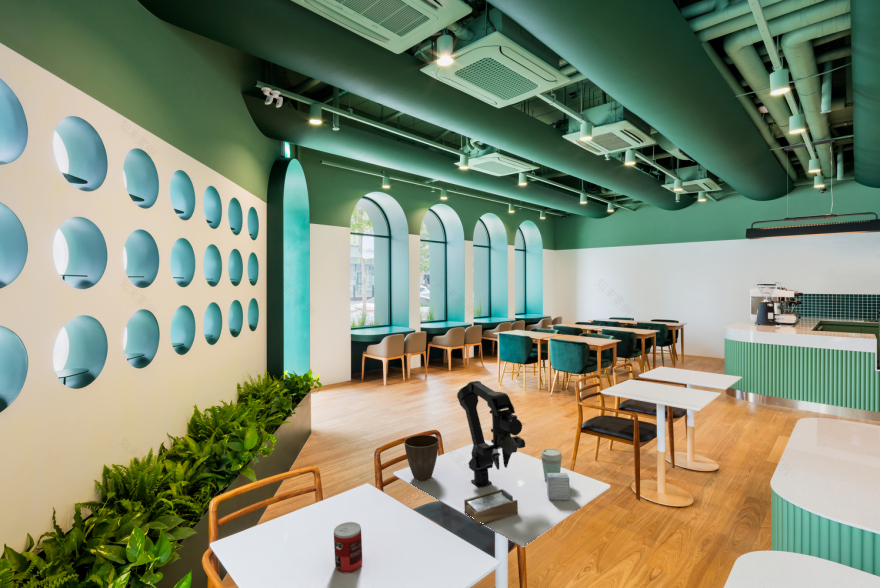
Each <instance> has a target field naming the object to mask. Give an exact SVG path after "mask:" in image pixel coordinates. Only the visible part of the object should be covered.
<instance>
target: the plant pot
mask: <svg viewBox="0 0 880 588" xmlns="http://www.w3.org/2000/svg"><path fill="white" fill-rule="evenodd" d="M403 443H404V449H405V454H406V459H407V463H408V465H409V468H410V472H411V474H412V476H413V478H414V480H416V481H417V480H418V482H426V481H429V480H431V478H432V477H433V474H434V471H435V470H434V469H435V467H436V462H437V457H438V452H439V443H440V439H439V438H438V437H437V436H435V435H430V434H417V435H412V436H409V437H407V438H405V439H404V441H403Z"/></svg>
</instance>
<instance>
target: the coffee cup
mask: <svg viewBox="0 0 880 588" xmlns="http://www.w3.org/2000/svg"><path fill="white" fill-rule="evenodd" d="M540 458H541V462H542V463H541V464H542V469H543V477H544V481H545V483H547V474H546V473H561V468H562V459H563V455H562V453H561V451H560V450H558V449H556V448H544V449H542V450H541V453H540Z"/></svg>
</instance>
